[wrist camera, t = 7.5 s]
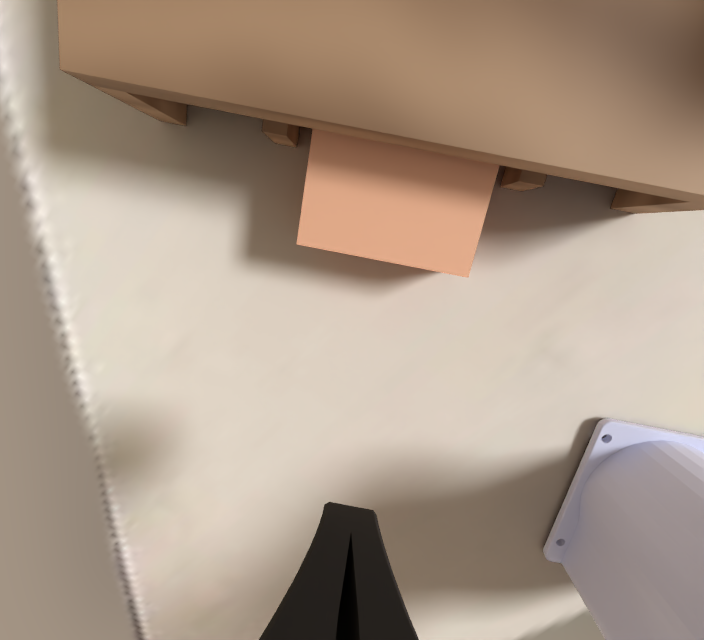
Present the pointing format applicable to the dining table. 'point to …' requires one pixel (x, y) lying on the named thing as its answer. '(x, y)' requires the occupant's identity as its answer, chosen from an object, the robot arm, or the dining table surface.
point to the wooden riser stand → (428, 79)
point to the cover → (394, 203)
